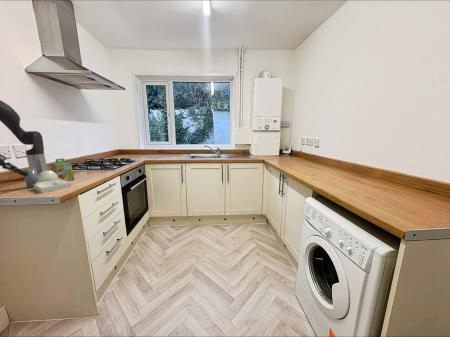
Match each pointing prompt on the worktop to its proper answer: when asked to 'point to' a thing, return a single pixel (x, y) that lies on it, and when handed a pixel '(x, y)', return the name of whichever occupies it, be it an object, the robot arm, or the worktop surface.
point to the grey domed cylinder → (31, 177)
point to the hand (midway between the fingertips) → (25, 174)
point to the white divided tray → (50, 182)
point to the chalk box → (63, 170)
